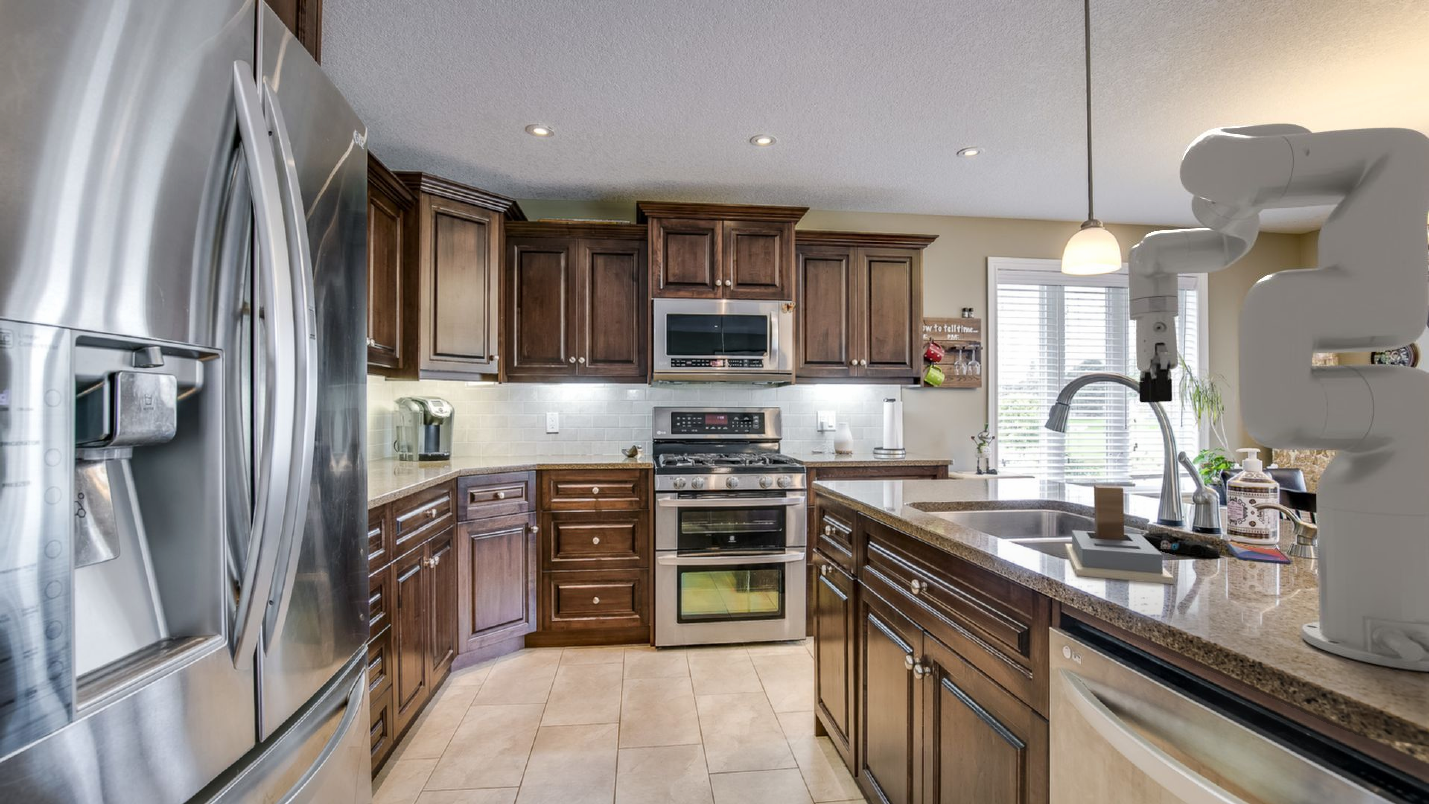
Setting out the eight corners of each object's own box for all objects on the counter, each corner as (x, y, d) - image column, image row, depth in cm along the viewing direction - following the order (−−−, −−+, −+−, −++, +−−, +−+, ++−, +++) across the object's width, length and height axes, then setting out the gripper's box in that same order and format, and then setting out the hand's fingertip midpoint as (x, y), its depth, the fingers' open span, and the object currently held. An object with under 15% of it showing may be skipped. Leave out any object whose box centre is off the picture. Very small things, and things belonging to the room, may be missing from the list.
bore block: (1173, 583, 98) (1173, 557, 98) (1076, 575, 103) (1076, 550, 103) (1145, 554, 118) (1144, 532, 118) (1065, 548, 123) (1065, 528, 123)
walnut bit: (1124, 556, 112) (1123, 488, 112) (1098, 554, 113) (1096, 487, 114) (1120, 551, 115) (1119, 485, 116) (1095, 550, 117) (1093, 485, 117)
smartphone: (1237, 562, 113) (1237, 556, 113) (1224, 545, 126) (1224, 540, 126) (1292, 568, 110) (1292, 561, 110) (1273, 550, 122) (1273, 544, 122)
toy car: (1223, 561, 113) (1223, 537, 113) (1142, 554, 119) (1142, 532, 119) (1214, 552, 121) (1214, 529, 121) (1139, 546, 127) (1138, 524, 127)
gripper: (1190, 300, 108) (1192, 401, 108) (1167, 314, 124) (1168, 402, 124) (1138, 304, 111) (1140, 401, 111) (1121, 317, 127) (1123, 402, 127)
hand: (1155, 401), depth 117 cm, fingers open, 9 cm apart
